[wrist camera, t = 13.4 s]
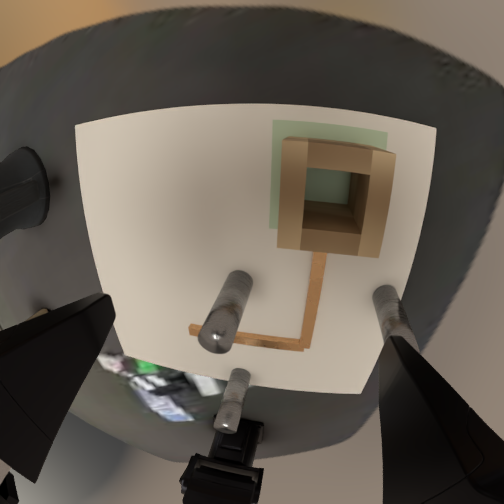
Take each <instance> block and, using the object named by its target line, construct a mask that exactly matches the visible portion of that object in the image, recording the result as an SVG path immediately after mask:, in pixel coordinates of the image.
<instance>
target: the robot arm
mask: <svg viewBox="0 0 504 504" xmlns="http://www.w3.org/2000/svg"><path fill="white" fill-rule="evenodd" d="M115 318H116V312H115V309H114V305H113V301H112V298H111V296H110V295H109V294H106V293H102V292H99V293H96V294H93V295H91V296H88V297H86V298H83V299H80V300H78V301H75V302H73V303H70V304H68V305H65V306H62V307H60V308H57V309H55V310H52V311H50V312H47V313H45V314H42V315H40V316H37V317H35V318H32V319H30V320H27V321H25V322H22V323H20V324H18V325H15V326H12V327H10V328H7V329H5V330H2V331H0V504H18V502H19V499H18V495H17V491H16V486H15V481H14V476H13V474H11V473H10V471H9V470H10V468H13V469H14V470H15V471H17V472H18V473H20V474H21V475H22V476H24V477H25V478H27V479H28V480H30V481H31V482H33V483H36V481H37V479H38V476H39V474H40V472H41V469H42V467H43V464H44V462H45V460H46V457H47V455H48V452H49V450H50V448H51V446H52V444H53V441H54V439H55V437H56V435H57V433H58V430H59V428H60V426H61V424H62V422H63V420H64V418H65V416H66V414H67V412H68V410H69V408H70V406H71V404H72V402H73V400H74V398H75V397H76V395H77V393H78V391H79V389H80V387H81V385H82V383H83V382H84V380H85V378H86V376H87V374H88V373H89V371H90V369H91V367H92V365H93V364H94V362H95V360H96V358H97V357H98V355H99V353H100V351H101V349H102V347H103V344H104V342H105V340H106V338H107V336H108V334H109V332H110V329H111V327H112V325H113V323H114V321H115ZM379 412H380V423H381V437H382V457H383V504H504V441H503V440H502V439H501V438H500V437H499V436H498V435H497V434H496V433H495V432H494V431H493V430H492V429H491V428H490V427H489V426H488V425H487V424H486V423H485V422H484V421H483V420H482V419H481V418H480V417H479V416H478V415H477V414H476V412H475V411H474V410H473V409H472V408H471V407H470V408H469V405H468V404H467V403H466V402H465V400H464V399H463V398H462V397H461V396H460V395H459V394H458V393H457V392H456V391H455V390H454V389H453V388H452V387H451V385H450V384H449V383H448V382H447V381H446V380H445V379H444V378H443V377H442V376H441V375H440V374H439V373H438V372H437V371H436V370H435V369H434V368H433V367H432V366H431V365H430V364H429V363H428V362H427V361H426V360H425V359H424V358H423V357H422V356H421V355H420V354H419V353H418V352H417V351H416V350H415V349H414V348H413V347H412V346H411V345H410V344H409V343H408V342H407V341H406V340H405V339H404V338H403V337H402V336H399V335H390V336H388V337H387V339H386V341H385V344H384V346H383V348H382V351H381V353H380V355H379ZM216 416H217V415H214V418H213V420H214V422H215V419H216ZM263 426H264V425H263V424H262V423H258V422H251V421H245V420H239V424H238V427H237V431H236V433H233V434H227V433H223V432H220V431H218V430H216V429H215V430H216V434H215V437H214V440H213V443H212V446H211V449H210V452H209V455H208V457H206V456H202V455H200V454H198V453H196V454H195V456H191V459H190V461H189V464H188V466H187V468H186V470H185V471H184V473H183V475H182V476H181V478H180V480H179V482H180V484H181V485H182V486H181V488H182V490H181V493H182V494H184V497H183V504H257V503H258V500H259V495H260V490H261V483H262V478H263V471H264V468H254V467H252V465H253V461H254V457H255V452H256V448H257V444H261V442H262V435H263Z"/></svg>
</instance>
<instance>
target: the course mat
mask: <svg viewBox="0 0 504 504" xmlns="http://www.w3.org/2000/svg"><path fill="white" fill-rule="evenodd" d="M75 131H76V148H77V160H78V170H79V179H80V186H81V194H82V200H83V207H84V212H85V218H86V223H87V229H88V233H89V238H90V243H91V247H92V252H93V256H94V260H95V264H96V268H97V272H98V275H99V279H100V283H101V286H102V290H103V293H106V294H109V295H110V296H111V298H112V301H113V305H114V309H115V312H116V318H115V321H114V323H113V324H114V327H115V330H116V332H117V335H118V338H119V340H120V343H121V346H122V348H123V351H124V353H125V355H127V356H130V357H133V358H137V359H140V360H143V361H147V362H150V363H154V364H157V365H161V366H165V367H168V368H172V369H176V370H180V371H184V372H188V373H193V374H197V375H202V376H206V377H211V378H216V379H221V380H227V381H228V380H229V377H230V374H231V371H232V370H233V369H235V368H242V369H245V370H247V371H248V372H249V373H250V374H251V378H250V382H249V384H250V385H257V386H264V387H271V388H280V389H288V390H298V391H310V392H324V393H345V394H361V392H362V390H363V388H364V386H365V384H366V382H367V380H368V378H369V376H370V374H371V372H372V370H373V367H374V365H375V363H376V361H377V359H378V356H379V354H380V352H381V350H382V347H383V345H384V342H383V338H382V334H381V330H380V326H379V322H378V318H377V315H376V311H375V307H374V304H373V300H372V295H373V293H374V291H375V290H376V289H377V288H378V287H380V286H382V285H391V286H393V287H394V288H395V289H396V291H397V293H398V296H399V298H400V301H401V298H402V295H403V292H404V289H405V286H406V283H407V280H408V277H409V273H410V270H411V267H412V263H413V260H414V256H415V252H416V248H417V245H418V241H419V237H420V232H421V228H422V224H423V219H424V214H425V209H426V204H427V199H428V193H429V188H430V181H431V175H432V167H433V159H434V151H435V140H436V128H433V127H430V126H426V125H422V124H418V123H414V122H410V121H405V120H401V119H396V118H391V117H386V116H381V115H375V114H370V113H364V112H357V111H350V110H343V109H334V108H325V107H315V106H302V105H285V104H216V105H199V106H186V107H176V108H167V109H158V110H151V111H144V112H137V113H131V114H126V115H120V116H115V117H110V118H105V119H100V120H96V121H91V122H87V123H83V124H79V125H75ZM288 136H293V137H306V138H317V139H327V140H336V141H344V142H351V143H359V144H365V145H371V146H374V147H377V148H380V149H383V150H386V151H389V152H392V153H394V154H396V162H395V171H394V178H393V185H392V192H391V199H390V205H389V210H388V216H387V221H386V227H385V232H384V237H383V241H382V246H381V250H380V255H379V258H371V257H361V256H352V255H342V254H332V253H327V258H326V264H325V270H324V277H323V283H322V288H321V294H320V300H319V305H318V310H317V315H316V321H315V326H314V330H313V335H312V340H311V345H310V349H306V348H304V352H299V351H289V350H280V349H272V348H264V347H257V346H250V345H243V344H236V343H233V344H232V347H231V350H230V351H229V352H227V353H225V354H214V353H211V352H209V351H207V350H205V349H204V348H203V347H202V346H201V345H200V344H199V342H198V337H196V336H191V335H189V329H188V327H189V326H190V324H196V325H202V326H203V324H204V322H205V320H206V318H207V316H208V314H209V312H210V310H211V308H212V306H213V304H214V302H215V300H216V298H217V296H218V294H219V292H220V290H221V288H222V286H223V284H224V282H225V280H226V278H227V276H228V275H229V273H231V272H232V271H235V270H242V271H245V272H246V273H248V274H249V275H250V276H251V278H252V280H253V287H252V290H251V292H250V295H249V298H248V301H247V304H246V307H245V310H244V313H243V316H242V319H241V321H240V324H239V327H238V330H237V331H239V332H246V333H253V334H260V335H268V336H276V337H285V338H294V339H300V336H301V330H302V324H303V318H304V312H305V306H306V299H307V293H308V286H309V279H310V272H311V264H312V256H313V252H312V251H303V250H293V249H282V248H277V233H278V215H279V197H280V176H281V153H282V140H283V139H285V138H287V137H288ZM350 178H351V172H346V171H337V170H329V169H319V168H309V167H307V171H306V185H305V198H304V200H311V201H321V202H330V203H339V204H347V203H348V195H349V187H350Z"/></svg>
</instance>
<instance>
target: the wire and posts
mask: <svg viewBox="0 0 504 504" xmlns="http://www.w3.org/2000/svg"><path fill="white" fill-rule="evenodd" d="M326 258H327V253H322V252H313V256H312V264H311V272H310V279H309V286H308V293H307V299H306V306H305V312H304V318H303V324H302V330H301V336H300V339H294V338H285V337H276V336H268V335H260V334H253V333H246V332H239V331H237V330H238V327H239V324H240V321H241V319H242V316H243V313H244V310H245V307H246V304H247V301H248V298H249V295H250V292H251V290H252V287H253V280H252V278H251V276H250V275H249V274H248V273H246V272H245V271H242V270H235V271H232V272H231V273H229V275H228V276H227V278H226V280H225V282H224V284H223V286H222V288H221V290H220V292H219V294H218V296H217V298H216V300H215V302H214V304H213V306H212V308H211V310H210V312H209V314H208V316H207V318H206V320H205V322H204V324H203V326H202V325H196V324H190V326H189V327H188V329H189V335H191V336H196V337H198V342H199V344H200V345H201V346H202V347H203V348H204V349H205V350H207V351H209V352H211V353H214V354H225V353H227V352H229V351H230V350H231V347H232V344H233V343H236V344H243V345H250V346H257V347H264V348H272V349H280V350H289V351H299V352H304V348H306V349H310V345H311V340H312V335H313V330H314V326H315V321H316V315H317V310H318V305H319V300H320V294H321V288H322V283H323V277H324V270H325V264H326ZM372 300H373V304H374V307H375V311H376V315H377V318H378V322H379V326H380V330H381V334H382V338H383V342H384V344H385V341H386V339H387V337H388V336H390V335H399V336H402V337H403V338H404V339H405V340H406V341H407V342H408V343H409V344H410V345H411V346H412V347H413V348H414V349H415V350H416V351H417V352H418V353H419V354H420V350H419V348H418V345H417V342H416V339H415V336H414V334H413V331H412V328H411V326H410V323H409V320H408V318H407V315H406V313H405V310H404V308H403V305H402V303H401V301H400V298H399V296H398V293H397V291H396V289H395V288H394V287H393V286H391V285H382V286H380V287H378V288H377V289H376V290H375V291H374V293H373V295H372ZM250 378H251V374H250V373H249V372H248V371H247V370H245V369H242V368H235V369H233V370H232V371H231V374H230V377H229V380H228V383H227V386H226V389H225V392H224V395H223V398H222V401H221V404H220V407H219V410H218V413H217V416H216V419H215V422H214V425H213V426H214V428H215V429H216V430H218V431H220V432H223V433H227V434H233V433H236V431H237V427H238V424H239V420H240V416H241V413H242V409H243V405H244V401H245V397H246V394H247V390H248V386H249V382H250Z"/></svg>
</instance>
